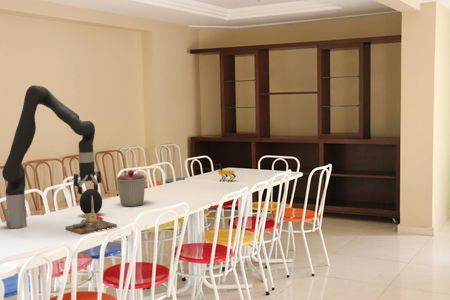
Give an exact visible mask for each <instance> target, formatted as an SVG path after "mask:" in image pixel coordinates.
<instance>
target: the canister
mask: <svg viewBox="0 0 450 300" xmlns="http://www.w3.org/2000/svg"><path fill="white" fill-rule="evenodd" d="M146 179H147V176H145V175H144V174H138V173H135V172H134V171H133V170H132V169H131V170H128V172H127V174H123V175H119V176H117V177H116V178H115V180H116V183H117V190H118V194H119V195H118V196H119V200H120V203H121V205H122V206H124V207H136V206H137V207H138V206H141V205H143V203H144V200H145V188H146Z"/></svg>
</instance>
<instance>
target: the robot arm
mask: <svg viewBox="0 0 450 300" xmlns="http://www.w3.org/2000/svg"><path fill="white" fill-rule="evenodd" d="M24 95H25V96H24V101H23V105H22V109H21V114H20V117H19V121H18V124H17V127H16V130H15V133H14V137H13V140H12V142H11V148H10V150H9V154H8V156H7V158H6V160H5V164H4V166H3V168H2V173H1V175H2V179H3V180H4V181H6V182H7V185H6V188H5V199H6V200H5V203H6V208H5V210H4V211H5V220H6V221H5V222H6V223H5V224H6V228H9V229H21V228H24V227H27V226H28V223H27V207H26V194H25V188H26V171H25V167H24V166H23V165H22V163H23V160H24V158H25V155H26V154H27V152H28V151H29V149H30V147H31V145H32V144H33V140H34V137H35V135H36V131H37V127H36V126H37V125H36V124H37V123H36V112H37V108H38V105H42V106H44V107H47V108H48V109H50V110H51V112H53V113H54V114H55V115H56V117H57V118H58V119H59V120H60V121H62V122H63V123H65V124H66V125H68V126H69V127H70V129H71V130H72V131H73V132H74V134H76V135H79V136H81V137H82V139H81V140H80V141H79V142H78V168H79V169H78V170H79V172H78V173H73V186H75V187H76V188H77V193H78V194H79V195H80V196H81V195H82V193H83V184H84V183H85V182H92V183H93V189H94V192H97V191H98V192H99V184H101V183H102V176H101V171H99V170H96V171H95V154H94V139H95V135H96V128H95V124H94V122H92V121H91V120H85V121H84V120H80V116H79V114H78V113H76V112H75V111H74V110H72V109H70V108H69V107H68V106H66V105H65V104H64V103H62V102H61V101H60V100H59V99H58V98H57V97H56V96H54V94H52V92H50V90H49V89H48V88H46V87H44V86H41V85H35V84H34V85H30V86H29V87H28V88H27V90H26V91H25V94H24ZM95 176H96V178H95Z"/></svg>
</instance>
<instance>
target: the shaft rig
mask: <svg viewBox="0 0 450 300" xmlns="http://www.w3.org/2000/svg"><path fill="white" fill-rule="evenodd" d="M112 227H115V228H118V227H117V223H113V222H110V221H107V220H106V221H105V220H98V219H97V222H93V223H86V220H85V218H82V220H81V221H80V223H75V224H71V225H67V226H65V230H66V231H69V232H72V233H75V234H78V235H80V236H81V235H86V234H91V233H95V232H94V231H96V232H99V231H98V230H101V231H103V230H102V229H106V230H108V229H107V228H111V229H113V228H112ZM90 232H91V233H90Z"/></svg>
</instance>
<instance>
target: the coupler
mask: <svg viewBox="0 0 450 300" xmlns="http://www.w3.org/2000/svg"><path fill="white" fill-rule="evenodd" d="M96 216H97V214H96V213H87V214H84V217H85V218H84V219H85V220H86V223H93V222H97V220H98V219H96Z"/></svg>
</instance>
